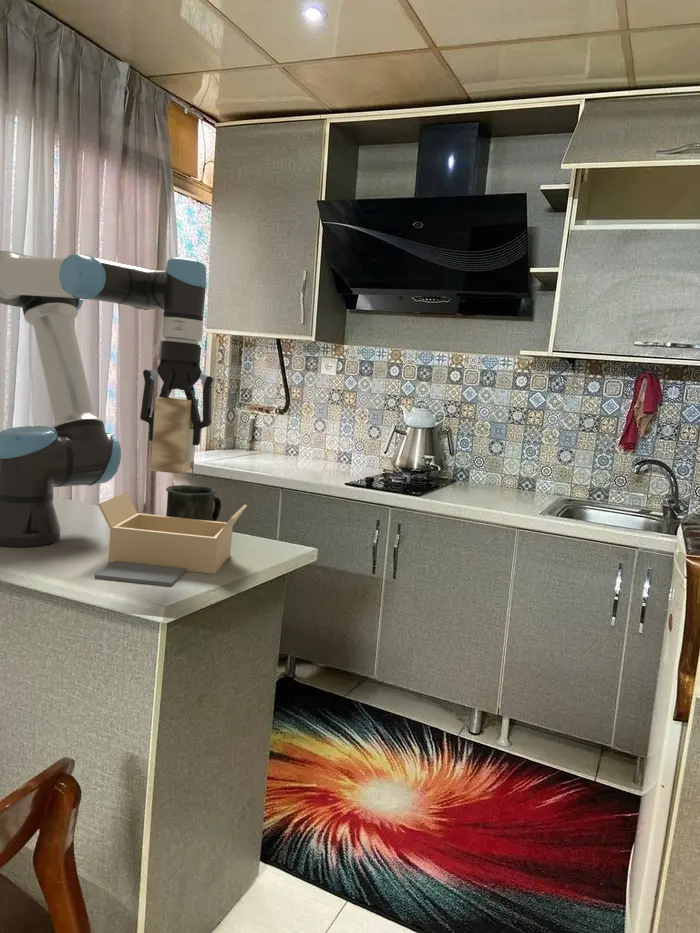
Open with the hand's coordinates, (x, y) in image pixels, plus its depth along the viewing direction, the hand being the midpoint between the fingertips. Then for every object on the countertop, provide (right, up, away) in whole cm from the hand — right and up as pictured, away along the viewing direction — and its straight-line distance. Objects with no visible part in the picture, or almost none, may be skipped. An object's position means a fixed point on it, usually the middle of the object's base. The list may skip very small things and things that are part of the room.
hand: (173, 459), depth 140 cm
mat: (-4, -22, -7) cm, 23 cm away
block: (0, -2, 0) cm, 2 cm away
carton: (-2, -20, +5) cm, 21 cm away
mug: (-1, -19, +22) cm, 29 cm away
